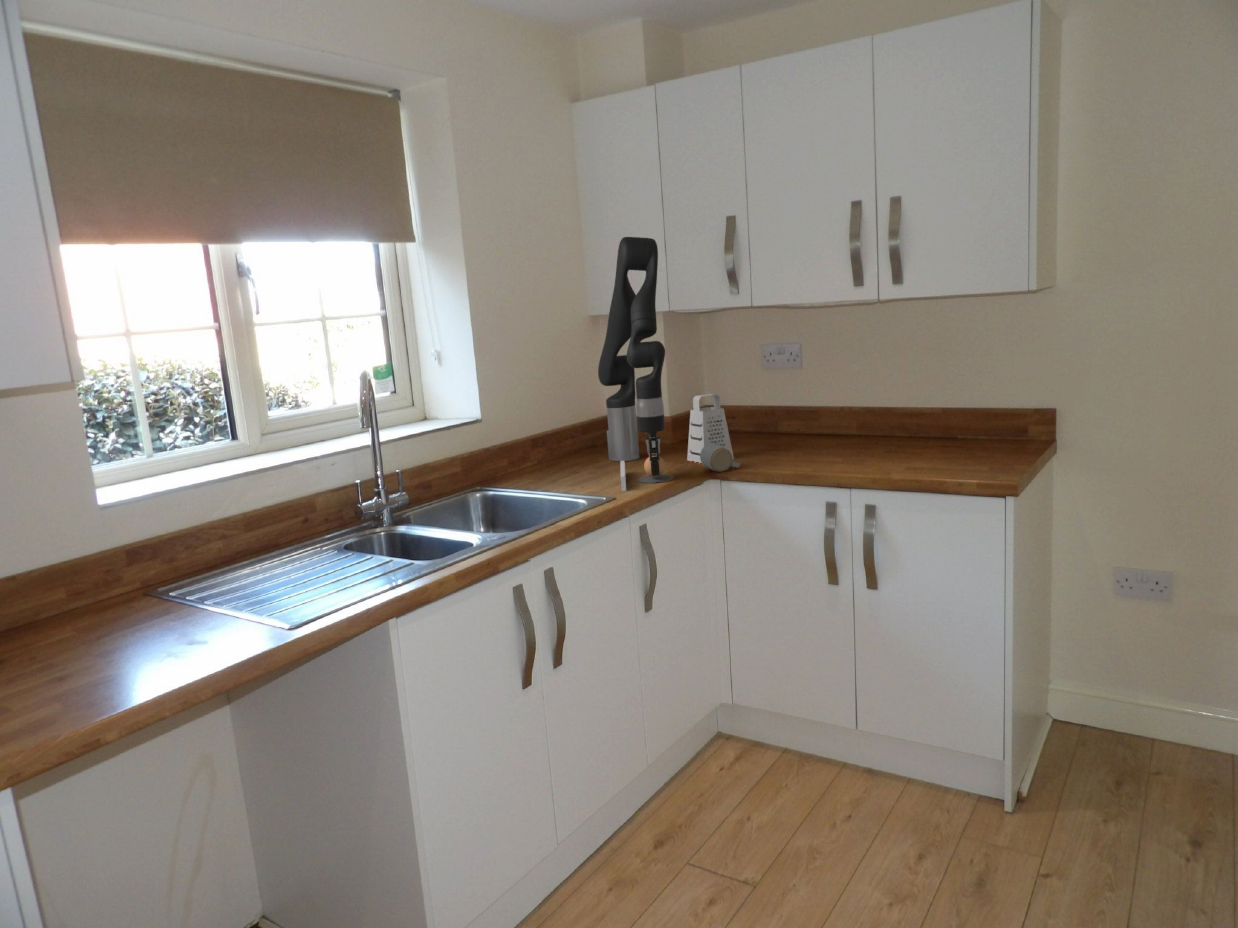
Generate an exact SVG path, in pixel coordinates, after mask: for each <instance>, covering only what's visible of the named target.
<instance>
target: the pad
mask: <svg viewBox="0 0 1238 928" xmlns="http://www.w3.org/2000/svg"><path fill="white" fill-rule="evenodd" d="M671 479H673V480H674V476H673V475H669V474H668V475H667V474H662V475H660V476H658V477H652V476H649V475H646V476H642V477H639V478H638V479H637V482H638V481H639V482H638V483H640V482H642V484H657V483H656V482H662V483H666V482H665V481H667V482H669V481H668V480H671ZM671 481H672V480H671Z"/></svg>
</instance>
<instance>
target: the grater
mask: <svg viewBox="0 0 1238 928" xmlns="http://www.w3.org/2000/svg"><path fill="white" fill-rule="evenodd" d="M708 396H712V397H713V406H707V407H701V408H700V399H701V398H702V397H708ZM692 408H693V409H690V410H689V411H690V412H689V413H690V414H689V426H688V427H689V429H688V442H687V443H688V444H687V459H686V461H689V462H692V461H694V462H693V463H696V462H699V463H698V464H700V463H701V460H700V453H701V450H702V448H703V447H704V446H705V445H706V444H708V443H717V444H719V445H721V446H723V447H725V448H726V449H728V450H729V451H730V453H731V455H732V459H733V460H735V458H734V453H733V452H734V451H733V448H732V443H731V436H730V434H729V433H730V432H729V427H728V423H727V419H726V414H725V408H723V407H721V397H720V396H719V394H717V393H706V394H699V395H695V396H694V397H693V399H692Z"/></svg>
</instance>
